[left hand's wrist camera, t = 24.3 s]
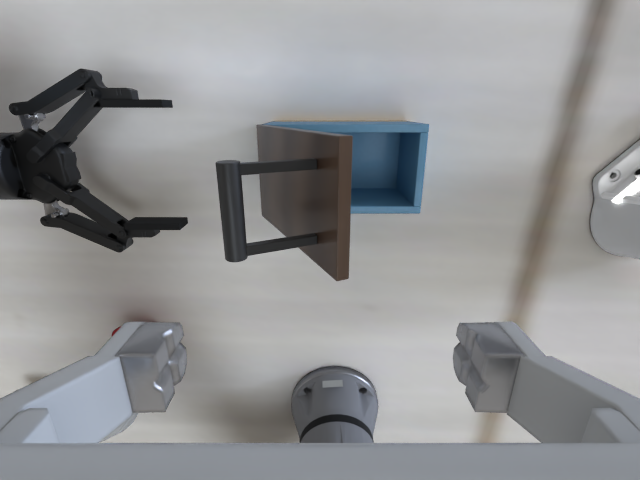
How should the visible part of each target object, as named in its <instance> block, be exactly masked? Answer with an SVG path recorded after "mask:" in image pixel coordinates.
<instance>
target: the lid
mask: <svg viewBox="0 0 640 480" xmlns="http://www.w3.org/2000/svg"><path fill="white" fill-rule="evenodd" d="M257 141H258V158H259V162H245V163H240V161H236V160H225V161H218V162H216V171H217V181H218V191H219V201H220V210H221V220H222V230H223V240H224V250H225V259H226V260H227V261H229V262H240V261H243V260H245V259H247V257H248V256H249V255H255V254H261V253H267V252H273V251H279V250H285V249H290V248H296V247H298V248H300V249H301V250H302V251H303V252H304V253H305V254H306V255H308V256H309V257H310V258H311V259H312V260H313V261H314V262H315V263H317V264H318V265H319V266H320V267H321V268H322V269H323V270H325V271H326V272H327V273H328V274H329V275H330V276H331V277H332V278H334V279H335V280H336V281H340V280H345V279H348V278H349V247H350V214H351V181H352V148H353V136H351V135H344V134H336V133H328V132H320V131H312V130H304V129H296V128H288V127H280V126H272V125H257ZM249 174H259V175H260V191H261V208H262V216H263V217H264V218H266V219H267V220H268V221H269V222H270V223H271V224H272V225H273V226H275V227H276V228H277V229H278V230H279V231H280V232H281V233H283V234H284V235H285V236H286V237H285V238H279V239H273V240H266V241H260V242H253V243H247V244H246V231H245V218H244V205H243V192H242V179H241V175H249Z"/></svg>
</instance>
